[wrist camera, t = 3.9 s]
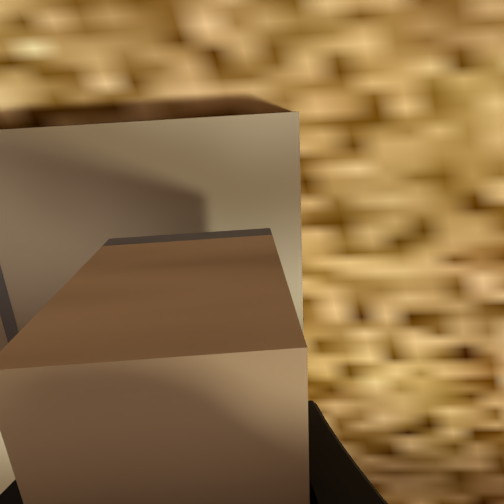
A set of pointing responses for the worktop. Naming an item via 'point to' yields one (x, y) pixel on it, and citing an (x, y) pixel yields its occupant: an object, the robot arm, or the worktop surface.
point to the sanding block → (162, 378)
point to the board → (138, 198)
